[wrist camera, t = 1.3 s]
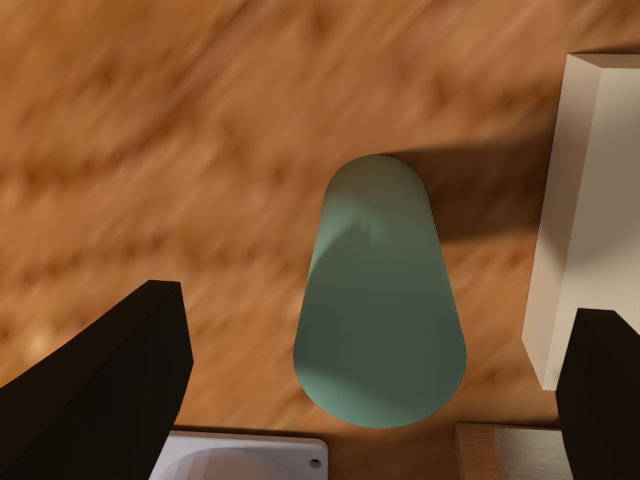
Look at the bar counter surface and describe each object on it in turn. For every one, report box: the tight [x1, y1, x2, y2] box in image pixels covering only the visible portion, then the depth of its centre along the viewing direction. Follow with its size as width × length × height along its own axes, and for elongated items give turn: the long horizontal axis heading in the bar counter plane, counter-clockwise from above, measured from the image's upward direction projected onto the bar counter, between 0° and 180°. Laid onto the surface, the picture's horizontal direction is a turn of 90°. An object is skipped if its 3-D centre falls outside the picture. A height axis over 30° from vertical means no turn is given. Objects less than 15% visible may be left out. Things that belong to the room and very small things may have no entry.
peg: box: [293, 155, 467, 428], centre depth 16 cm, size 4×4×9 cm
